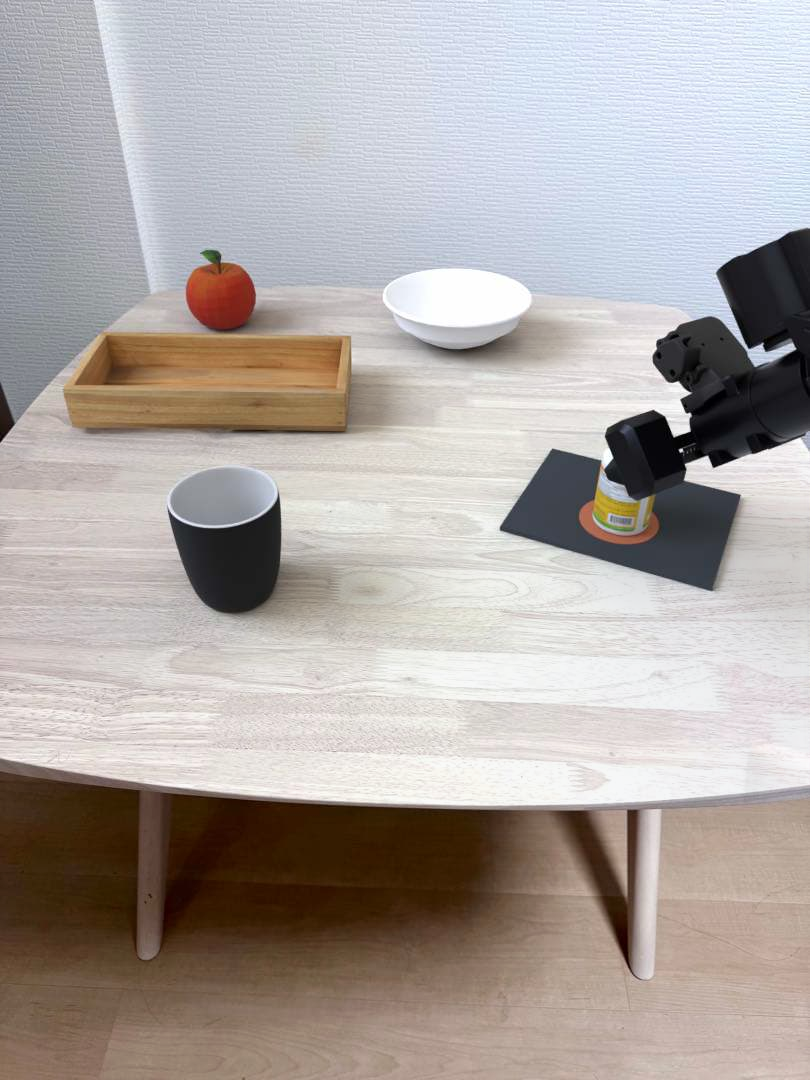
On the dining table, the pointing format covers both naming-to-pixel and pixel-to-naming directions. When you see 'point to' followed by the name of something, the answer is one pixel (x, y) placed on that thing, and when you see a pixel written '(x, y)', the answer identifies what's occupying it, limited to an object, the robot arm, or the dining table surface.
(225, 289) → the fruit
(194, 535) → the mug
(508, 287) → the bowl
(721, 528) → the placemat
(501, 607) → the dining table surface
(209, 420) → the tray
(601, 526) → the supplement bottle
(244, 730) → the dining table surface
